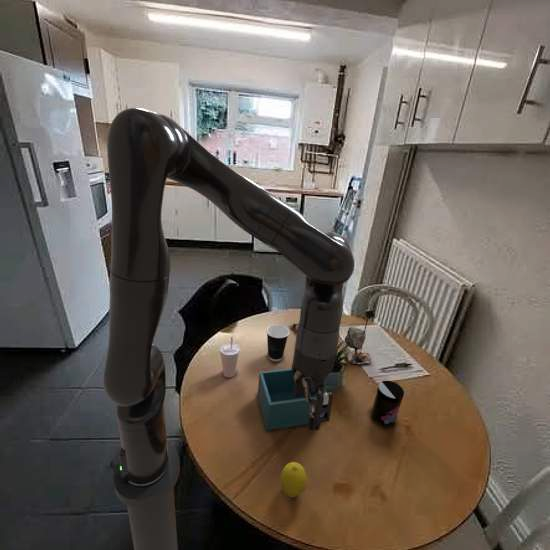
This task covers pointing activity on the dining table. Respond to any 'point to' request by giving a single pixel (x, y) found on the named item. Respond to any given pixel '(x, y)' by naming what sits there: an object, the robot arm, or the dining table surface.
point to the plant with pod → (358, 342)
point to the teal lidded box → (281, 400)
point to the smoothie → (229, 358)
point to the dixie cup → (276, 341)
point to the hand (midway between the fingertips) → (305, 411)
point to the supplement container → (387, 402)
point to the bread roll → (295, 327)
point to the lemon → (293, 479)
